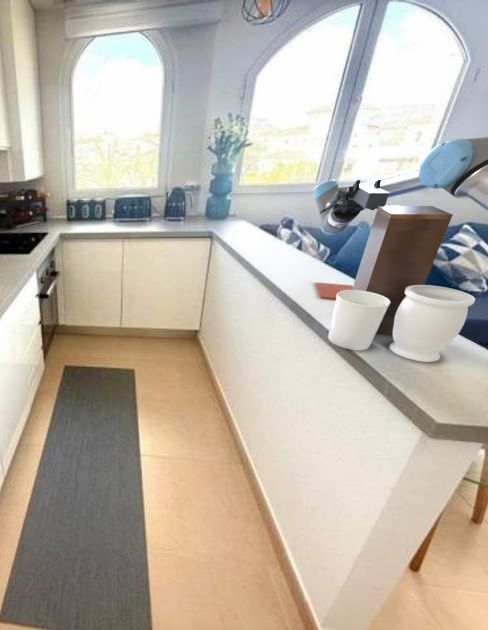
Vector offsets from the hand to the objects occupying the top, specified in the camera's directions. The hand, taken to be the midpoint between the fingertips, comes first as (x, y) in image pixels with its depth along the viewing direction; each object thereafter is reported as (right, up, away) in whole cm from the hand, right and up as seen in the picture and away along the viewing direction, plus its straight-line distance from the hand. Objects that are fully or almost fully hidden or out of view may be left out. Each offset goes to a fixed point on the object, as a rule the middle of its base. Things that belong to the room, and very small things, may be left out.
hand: (368, 184), depth 98 cm
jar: (-6, -47, -19) cm, 51 cm away
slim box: (-1, -5, 0) cm, 5 cm away
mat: (+1, -30, +13) cm, 33 cm away
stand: (-5, -40, -7) cm, 41 cm away
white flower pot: (-17, -45, -13) cm, 49 cm away
